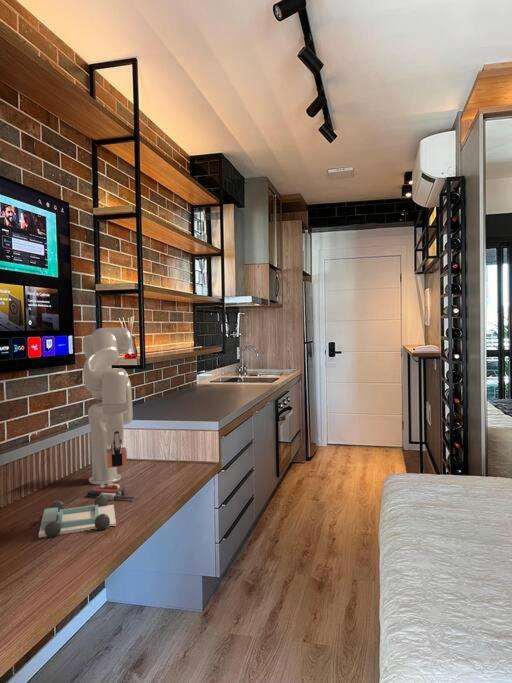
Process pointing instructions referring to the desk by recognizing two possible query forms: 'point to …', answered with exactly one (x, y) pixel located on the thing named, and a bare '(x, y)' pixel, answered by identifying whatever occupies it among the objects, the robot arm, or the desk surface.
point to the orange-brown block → (109, 457)
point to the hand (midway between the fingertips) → (116, 463)
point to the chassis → (77, 518)
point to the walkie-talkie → (109, 491)
